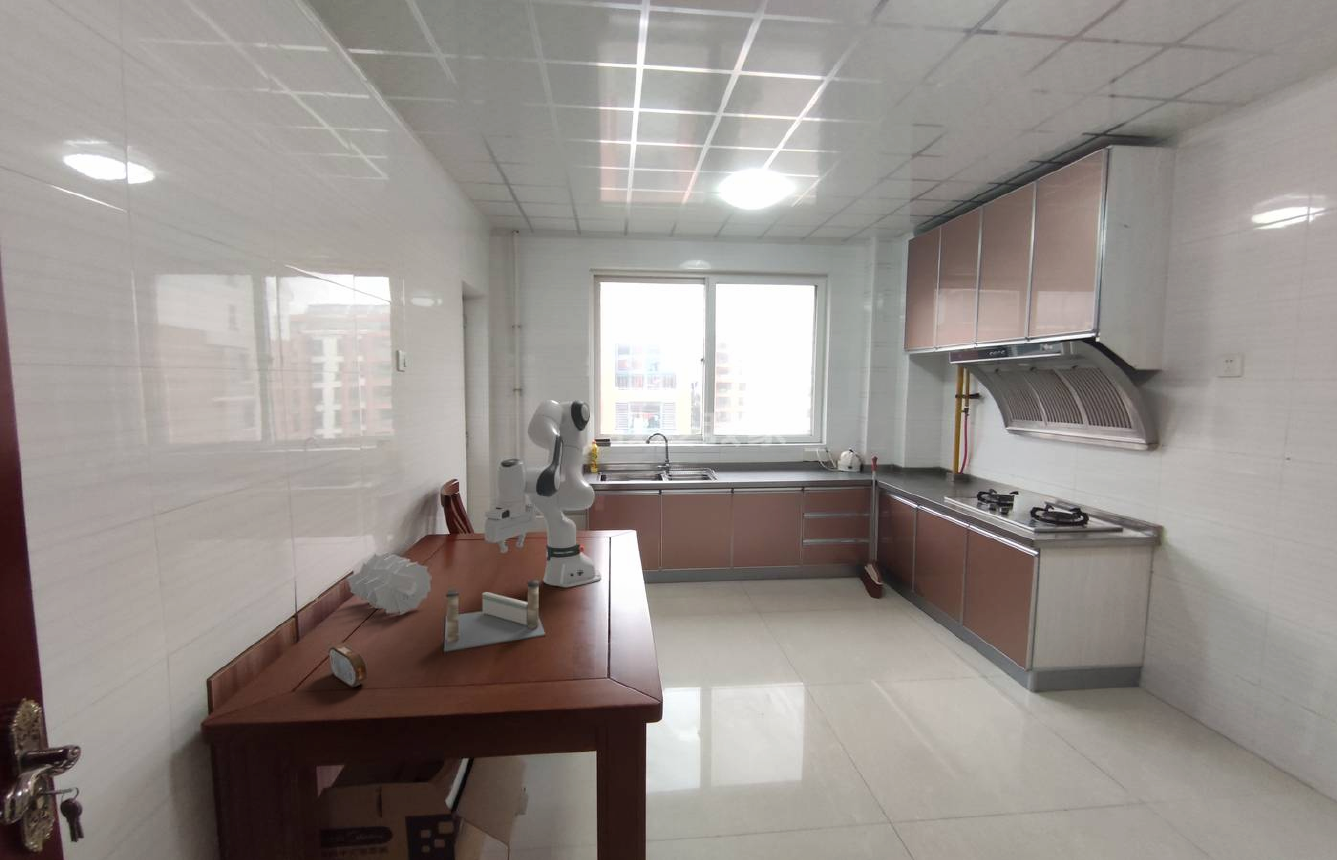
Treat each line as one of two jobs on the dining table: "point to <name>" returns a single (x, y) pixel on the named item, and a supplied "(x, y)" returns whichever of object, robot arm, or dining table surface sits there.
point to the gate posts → (453, 610)
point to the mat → (488, 631)
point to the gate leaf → (505, 607)
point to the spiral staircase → (391, 583)
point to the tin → (347, 665)
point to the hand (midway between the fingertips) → (512, 549)
